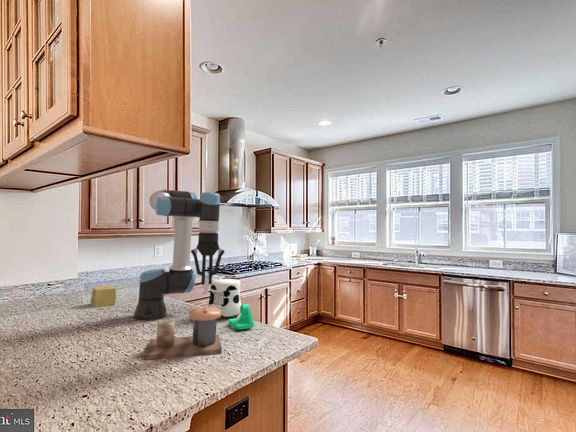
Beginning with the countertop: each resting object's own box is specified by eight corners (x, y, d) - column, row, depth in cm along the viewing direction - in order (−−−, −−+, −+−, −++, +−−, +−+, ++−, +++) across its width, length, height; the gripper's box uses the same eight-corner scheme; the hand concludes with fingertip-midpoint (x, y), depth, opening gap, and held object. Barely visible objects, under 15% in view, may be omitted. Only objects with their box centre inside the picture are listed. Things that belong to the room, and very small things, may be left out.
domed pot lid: (188, 328, 113) (188, 313, 113) (188, 319, 124) (189, 305, 124) (222, 326, 116) (222, 312, 116) (219, 317, 128) (220, 304, 128)
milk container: (235, 310, 174) (237, 278, 175) (245, 318, 159) (246, 283, 160) (204, 313, 167) (205, 279, 168) (210, 322, 151) (212, 284, 152)
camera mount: (227, 325, 148) (228, 303, 149) (242, 322, 152) (243, 301, 153) (237, 332, 138) (238, 308, 138) (253, 329, 142) (253, 307, 143)
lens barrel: (187, 343, 119) (189, 316, 119) (204, 337, 126) (206, 312, 126) (203, 348, 114) (204, 320, 114) (219, 341, 121) (220, 315, 121)
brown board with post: (144, 359, 106) (145, 331, 107) (150, 343, 122) (151, 318, 122) (221, 353, 114) (222, 326, 114) (218, 338, 129) (219, 315, 130)
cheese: (90, 304, 178) (91, 286, 179) (111, 301, 186) (112, 285, 186) (94, 308, 171) (95, 289, 171) (115, 305, 178) (116, 287, 178)
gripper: (191, 231, 117) (188, 295, 115) (226, 232, 120) (224, 294, 119) (191, 231, 124) (188, 291, 123) (224, 232, 127) (222, 290, 126)
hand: (206, 292), depth 121 cm, fingers closed
